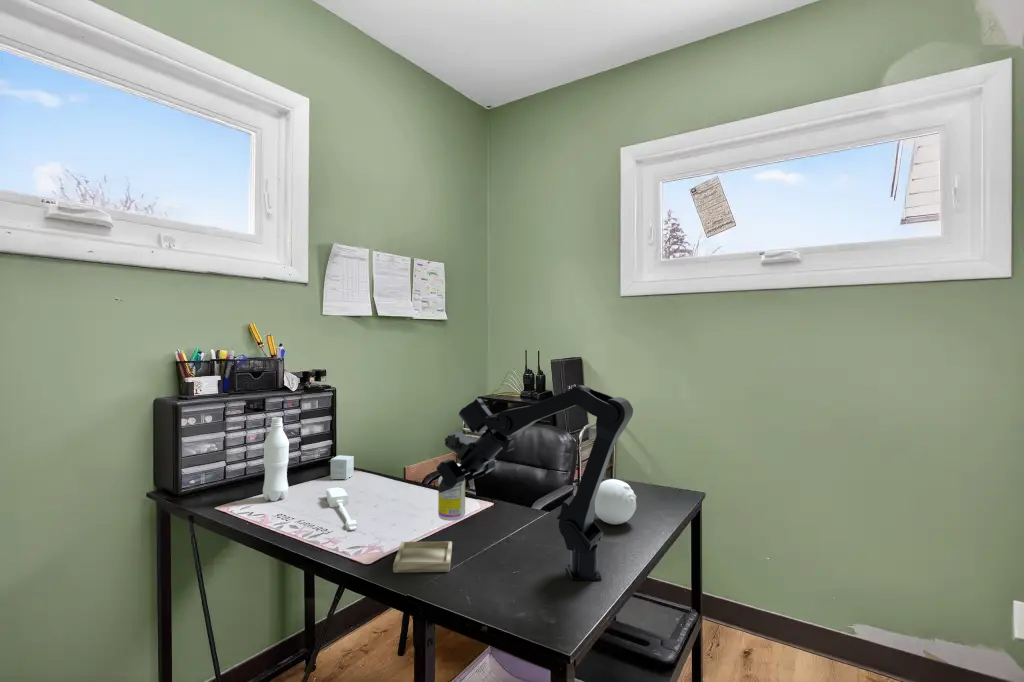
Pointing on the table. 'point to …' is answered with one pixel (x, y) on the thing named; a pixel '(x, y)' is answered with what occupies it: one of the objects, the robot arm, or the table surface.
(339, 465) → the product box
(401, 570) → the tray
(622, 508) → the decorative ball
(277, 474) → the water bottle
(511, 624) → the table surface
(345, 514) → the white toy mallet
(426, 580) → the table surface
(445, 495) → the supplement bottle
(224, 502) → the table surface
